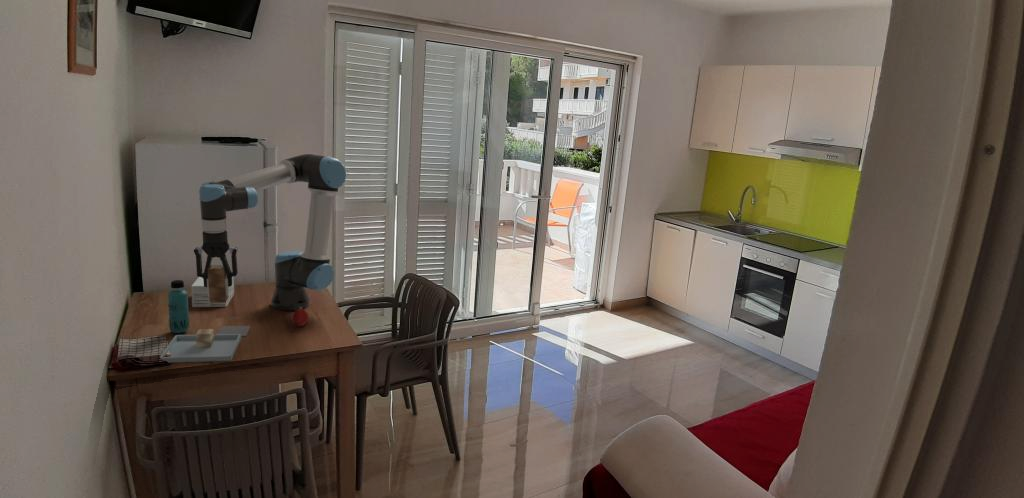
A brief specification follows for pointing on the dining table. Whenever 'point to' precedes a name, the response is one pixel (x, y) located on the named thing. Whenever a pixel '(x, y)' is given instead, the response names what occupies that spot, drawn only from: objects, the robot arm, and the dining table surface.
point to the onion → (300, 317)
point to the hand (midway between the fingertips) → (218, 295)
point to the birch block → (205, 338)
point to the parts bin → (202, 349)
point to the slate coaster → (234, 330)
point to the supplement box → (206, 295)
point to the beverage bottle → (178, 308)
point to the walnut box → (217, 284)
